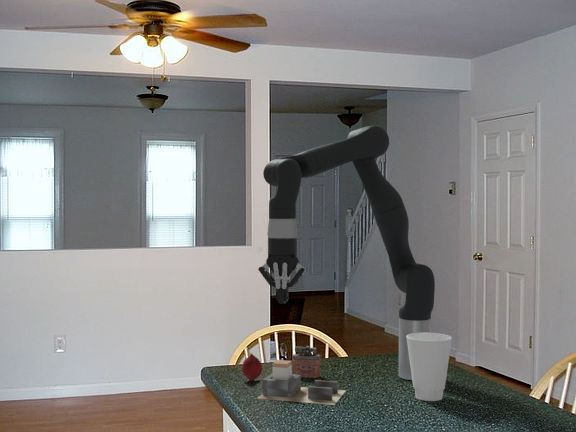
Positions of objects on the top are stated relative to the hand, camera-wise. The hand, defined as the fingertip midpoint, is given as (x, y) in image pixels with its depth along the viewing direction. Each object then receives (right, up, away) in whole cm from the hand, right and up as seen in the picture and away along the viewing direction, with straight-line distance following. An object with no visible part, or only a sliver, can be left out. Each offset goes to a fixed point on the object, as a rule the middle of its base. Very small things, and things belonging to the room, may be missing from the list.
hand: (282, 303), depth 183 cm
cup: (+38, -25, +2) cm, 46 cm away
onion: (-9, -25, +19) cm, 32 cm away
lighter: (+7, -25, +18) cm, 31 cm away
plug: (0, -23, 0) cm, 23 cm away
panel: (+5, -25, -1) cm, 25 cm away
